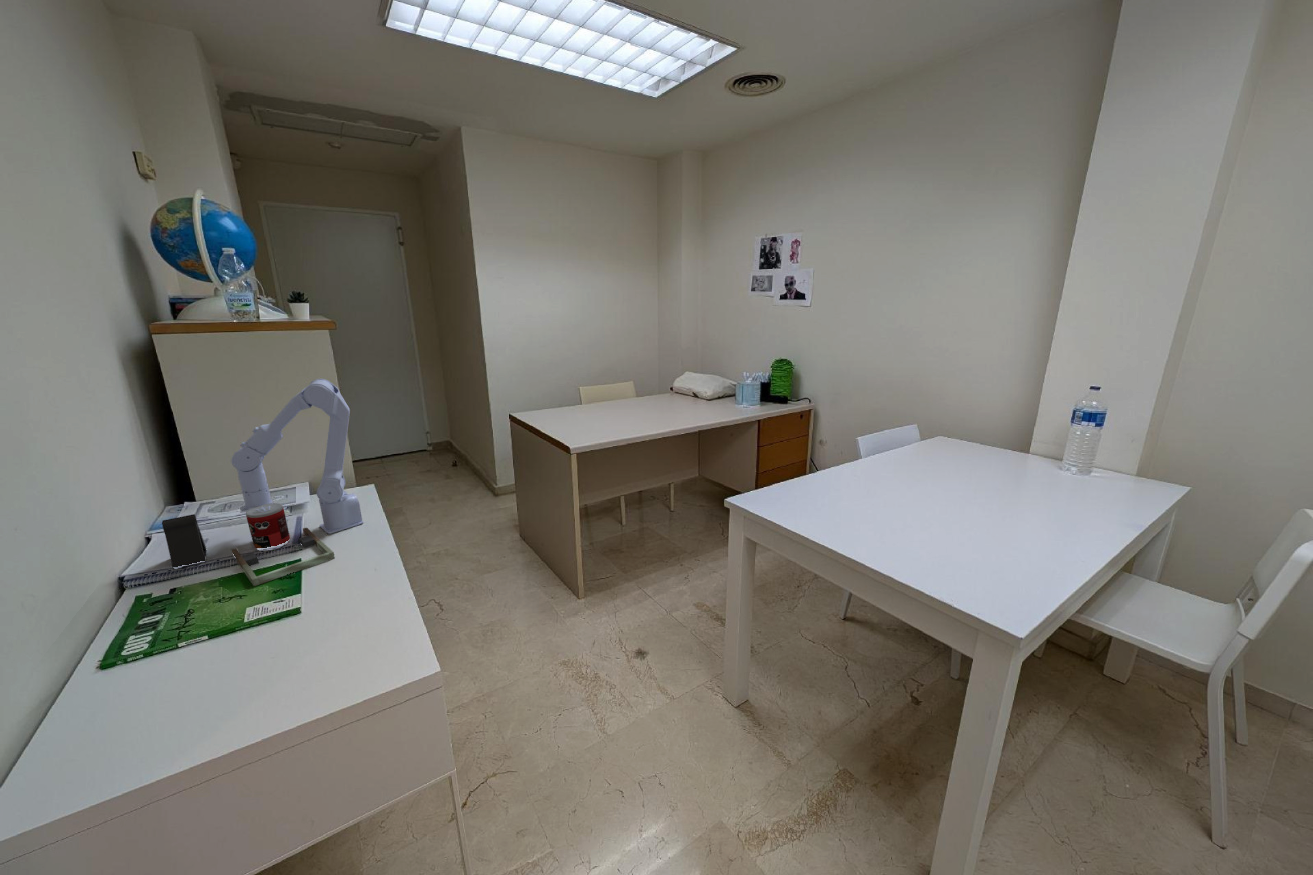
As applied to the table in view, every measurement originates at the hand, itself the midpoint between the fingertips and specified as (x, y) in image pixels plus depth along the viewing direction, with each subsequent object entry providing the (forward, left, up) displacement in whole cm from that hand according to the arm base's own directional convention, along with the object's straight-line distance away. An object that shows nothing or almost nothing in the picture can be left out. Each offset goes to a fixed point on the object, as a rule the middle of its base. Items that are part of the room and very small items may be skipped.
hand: (265, 533), depth 136 cm
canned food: (0, +6, -2) cm, 6 cm away
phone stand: (+16, -1, -2) cm, 16 cm away
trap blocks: (0, +13, -2) cm, 13 cm away
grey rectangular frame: (0, +16, -2) cm, 16 cm away
